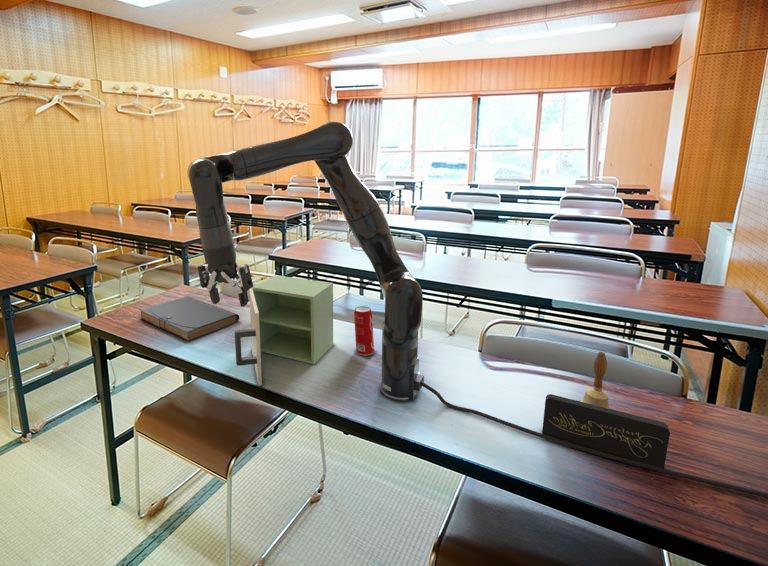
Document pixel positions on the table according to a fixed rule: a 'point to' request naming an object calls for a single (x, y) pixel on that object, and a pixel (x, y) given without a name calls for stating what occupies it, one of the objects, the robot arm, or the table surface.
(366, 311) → the beverage can
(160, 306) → the file folder
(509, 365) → the table surface
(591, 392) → the hand bell
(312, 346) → the cupboard
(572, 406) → the nameplate
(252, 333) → the door
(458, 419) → the table surface
